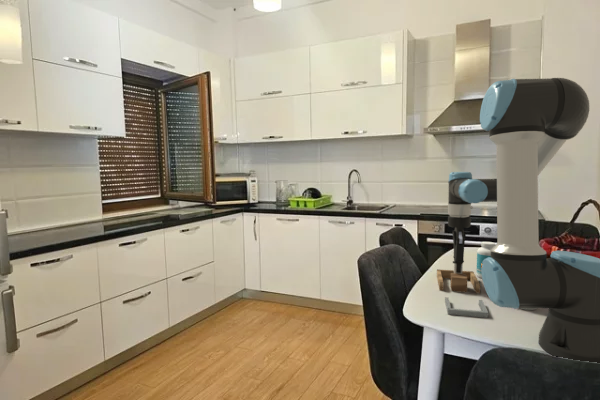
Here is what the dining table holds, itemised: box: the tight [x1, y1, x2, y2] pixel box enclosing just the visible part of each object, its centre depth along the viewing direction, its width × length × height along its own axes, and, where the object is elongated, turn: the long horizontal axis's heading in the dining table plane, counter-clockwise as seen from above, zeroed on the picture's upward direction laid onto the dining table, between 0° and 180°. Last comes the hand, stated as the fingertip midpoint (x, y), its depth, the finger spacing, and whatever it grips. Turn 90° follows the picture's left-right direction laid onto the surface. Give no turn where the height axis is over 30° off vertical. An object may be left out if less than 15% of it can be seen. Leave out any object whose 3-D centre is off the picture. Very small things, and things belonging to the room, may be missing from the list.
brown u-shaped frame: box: [436, 269, 481, 294], centre depth 142 cm, size 16×13×3 cm
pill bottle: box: [475, 241, 496, 279], centre depth 150 cm, size 8×7×14 cm
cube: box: [449, 273, 468, 293], centre depth 137 cm, size 5×5×5 cm
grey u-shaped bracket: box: [444, 296, 489, 319], centre depth 119 cm, size 10×11×2 cm
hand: (457, 280), depth 140 cm, fingers closed
